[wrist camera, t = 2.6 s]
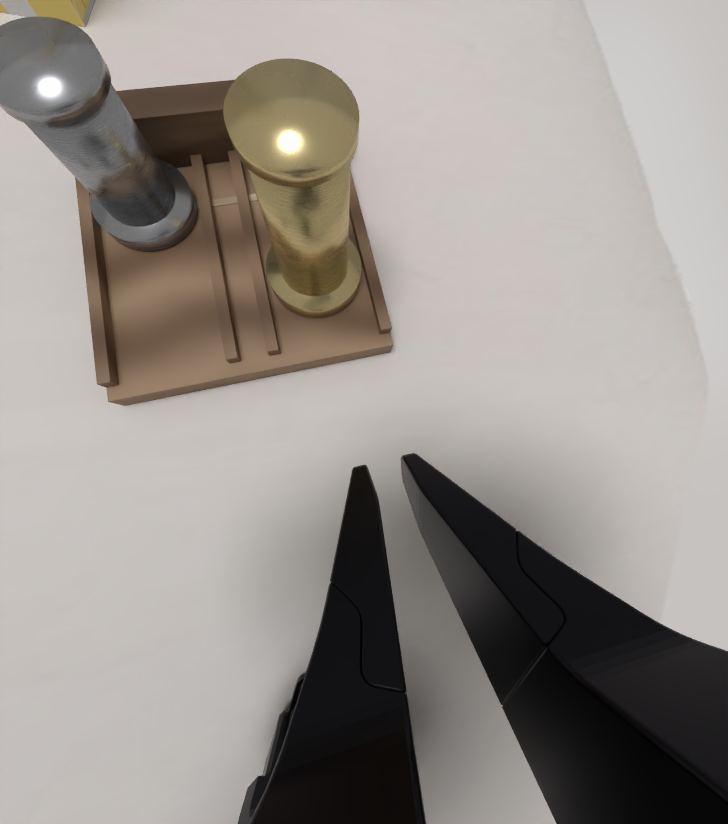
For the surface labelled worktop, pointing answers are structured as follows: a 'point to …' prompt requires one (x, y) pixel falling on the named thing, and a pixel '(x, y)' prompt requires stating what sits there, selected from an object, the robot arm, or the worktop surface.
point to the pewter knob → (92, 132)
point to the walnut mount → (209, 274)
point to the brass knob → (300, 177)
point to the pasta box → (51, 9)
